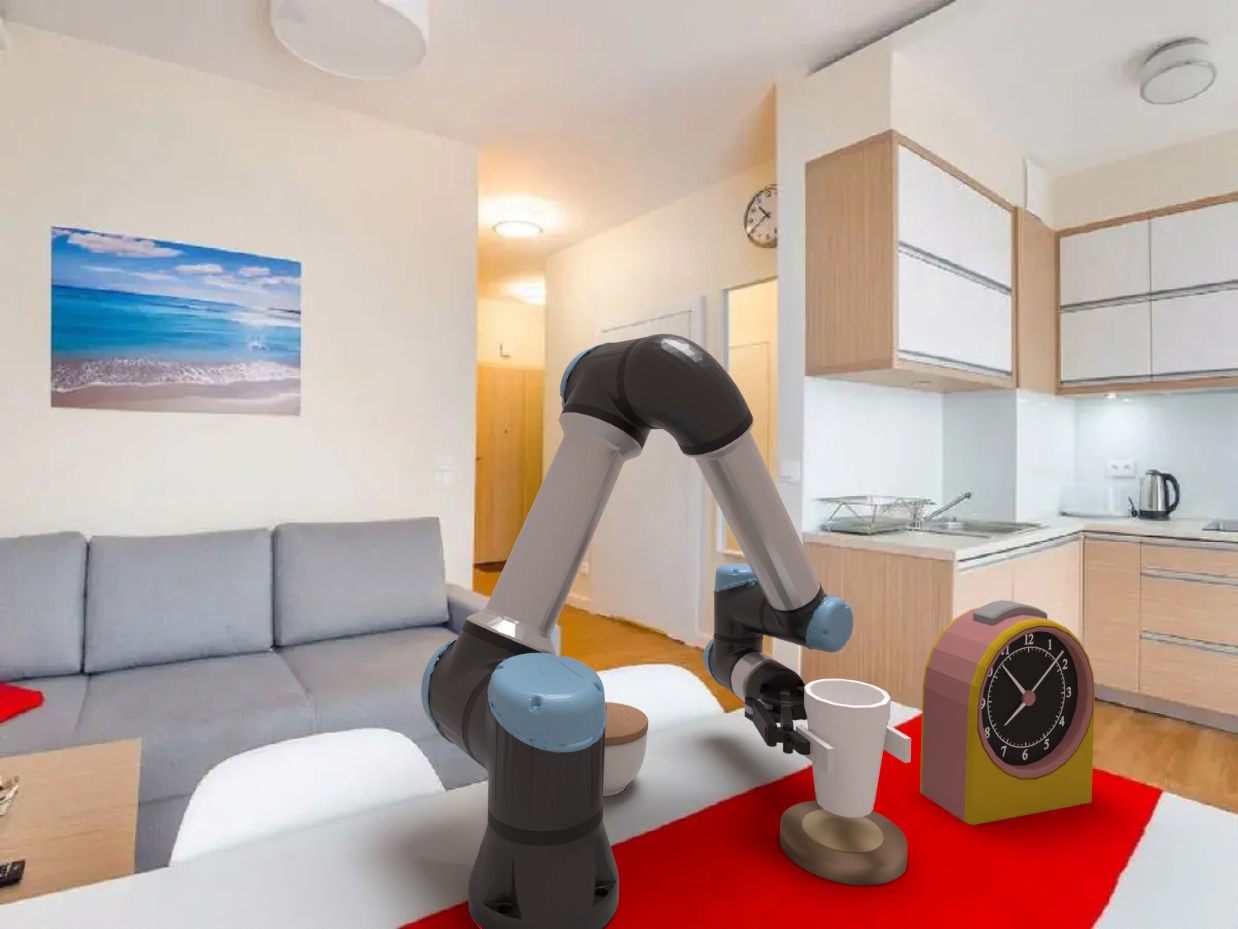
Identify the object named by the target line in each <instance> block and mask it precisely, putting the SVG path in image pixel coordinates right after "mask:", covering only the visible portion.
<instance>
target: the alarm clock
mask: <svg viewBox="0 0 1238 929" xmlns="http://www.w3.org/2000/svg"><path fill="white" fill-rule="evenodd" d="M1094 675H1095V674H1094V672H1093V668H1092V664H1091V661H1090V658H1089V655H1088V653H1087V651H1086V649H1085V648H1084V646H1083V645H1082V643H1081V641H1080V639H1079V638H1078V637H1077V636H1076V635H1075V634H1074V633H1073V632H1072V631H1070V629H1069V628H1067V627H1066V626H1063V625H1062V624H1060V623H1058V622H1055V621H1053V620H1051V619H1050V618H1049V619H1048V613H1047V612H1045V611H1044V610H1042V609H1041V608H1038V607H1035V606H1031V605H1028V604H1024V603H1021V602H1017V601H1012V600H1001V599H999V600H997V601H996V600H995V601H991V602H989V603H986V604H984V605H982V606H980V607H975V608H971V609H968V610H967V611H965V612H964V613H962V614H960V615H958V616H957V617H955V618H954V619H953V620H952V621H951V622H950V623H949V624H948V625H947V626H946V627H945V628H944V629H942V631H941V633H940V634H939V636H938V637H937V639H936V641H935V642H934V644H933V646H932V647H931V650H930V652H929V655H928V659H927V661H926V664H925V669H924V675H923V676H924V677H923V683H922V708H921V711H922V712H921V740H920V742H921V744H920V745H921V746H920V748H921V749H920V750H921V751H920V783H919V785H920V786H919V789H920V790H919V792H920V794H921V795H923V796H924V797H926V798H927V799H929V800H930V801H932V802H933V803H935V804H937V805H938V806H939V807H940V808H943V809H944V810H946V811H947V812H949V813H950V814H952V815H953V816H955V817H956V818H958V819H959V820H961V821H963V823H966V824H969V825H975V826H976V825H980V824H985V823H990V822H995V821H1000V820H1006V819H1012V818H1017V817H1022V816H1026V815H1027V816H1028V815H1032V814H1039V813H1043V812H1049V811H1053V810H1054V811H1055V810H1059V809H1064V808H1065V809H1066V808H1070V807H1075V806H1079V805H1080V804H1081V805H1084V804H1085V803H1086V804H1091V803H1092V793H1093V792H1092V791H1093V790H1092V789H1093V788H1092V787H1093V762H1094V761H1093V760H1094V759H1093V758H1094V757H1093V756H1094V755H1093V754H1094V751H1093V750H1094V731H1095V727H1094V724H1095V701H1096V700H1095V696H1096V695H1095V677H1094ZM1048 810H1049V811H1048Z"/></svg>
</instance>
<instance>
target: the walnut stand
mask: <svg viewBox="0 0 1238 929" xmlns="http://www.w3.org/2000/svg"><path fill="white" fill-rule="evenodd" d="M779 823H780V824H779V826H780V827H779V842H780V843H779V844H780V846H781V848H782V851H783V852H784V853H785V854H786V856H787V857H788V858H789V859H790V860H791V862H793V863H795V864H796V865H797V866H799V868H802V869H803V870H805V871H807V872H809V873H811V874H812V875H815V876H817V877H820V878H822V879H825V880H829V881H830V882H831V881H832V882H835V883H840V884H845V885H852V886H878V885H882V884H887V883H889V882H890V883H891V882H892V881H895V880H896V879H898V878H900V877H901V876H902V875H903V874H904V872H905V871H906V868H907V863H908V840H907V837H906V836H905V834H904V832H903V831H902V830H901V828H899V826H897V825H896V824H895V823H894V822H893V821H891V820H890V819H889V818H887V817H885V816H883V815H882V814H880V813H878V812H875V811H873V810H872V812H871V813H870V814H868V815H866V816H863V817H845V816H840V815H835V814H833V813H831V812H829V811H826V810H824V809H823V808H822V807H821V806H820V805H819V804H818V803H817V800H811V801H805V802H804V801H803V802H800V803H797V804H794V805H791V807H788V808H787V809H786V810H785V811H783V813H782V815H781V818H780V822H779Z"/></svg>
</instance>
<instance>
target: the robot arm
mask: <svg viewBox="0 0 1238 929" xmlns="http://www.w3.org/2000/svg"><path fill="white" fill-rule="evenodd" d="M559 385H560V386H559V396H560V397H561V400H562V401H561V402H560V403H561V407H562V411H561V413H560V415H559V418H558V422H559V425H560V427H561V429H562V433H563V437H562V440H561V442H560V444H559V446H558V448H557V450H556V452H555V455H554V457H553V459H552V461H551V463H550V466H549V468H548V469H547V472H546V474H545V477H544V479H543V481H542V483H541V485H540V486H539V489H538V492H537V494H536V496H535V498H534V501H533V502H532V504H531V507H530V510H529V511H528V513H527V516H526V517H525V518H526V519H525V521H524V523H523V525H522V527H521V529H520V532H519V533H518V535H517V538H516V540H515V543H514V544H513V547H512V549H511V552H510V553H509V555H508V557H507V560H506V562H505V564H504V566H503V569H502V571H501V573H500V576H499V577H498V580H497V582H496V584H495V587H494V588H493V591H492V593H491V595H490V597H489V600H488V602H487V604H486V606H485V607H484V608H483V609H482V610H480V611H477V612H476V613H473V614H471V615H468V616H467V617H466V619H465V621H464V623H463V625H462V627H461V630H460V631H459V634H458V636H457V637H454V638H452V639H451V640H450V641H448V642H447V643H443V645H441V646H440V647H439V648H438V649H437V650H436V651H435V652H434V653H433V655H432V656H431V658H430V659H429V661H428V663H427V664H426V666H425V670H424V671H423V675H422V680H421V686H420V695H421V698H420V699H421V703H422V707H423V709H424V713H425V714H426V717H427V718H428V720H429V721H430V723H431V724H432V725H433V726H434V727H435V729H436V731H437V732H438V733H439V735H441V737H443V738H444V739H445V740H446V741H448V743H450V744H453V745H455V746H456V747H458V749H460V750H461V751H462V752H464V753H465V754H466V755H468V756H469V757H470V758H471V759H472V760H473V761H475V762H476V763H477V764H479V765H480V766H481V767H482V768H483V769H485V770H486V772H487V778H488V780H487V782H488V783H487V784H488V785H487V786H488V787H487V824H486V828H485V831H484V834H483V837H482V840H481V843H480V845H479V849H478V852H477V855H476V857H475V860H474V863H473V866H472V870H471V873H470V876H469V880H468V899H467V900H468V901H467V902H468V903H467V904H468V906H469V907H468V913H469V912H470V913H469V915H470V914H471V916H472V918H473V920H474V921H475V922H476V924H478V926H480V927H481V928H482V929H603V928H605V927H606V925H607V924H609V922H610V921H611V920H612V918H613V917H614V915H615V914H616V911H617V909H618V905H619V900H620V899H619V894H620V887H619V885H620V877H619V870H618V867H617V864H616V860H615V857H614V853H613V850H612V847H611V844H610V840H609V837H608V832H607V830H606V827H605V823H604V797H603V790H604V760H605V729H606V721H607V712H606V706H605V702H606V696H605V688H604V684H603V681H602V679H601V678H600V676H599V674H598V673H597V672H596V671H595V670H594V669H593V668H591V666H589V665H587V664H586V663H585V662H582V661H580V660H578V659H575V658H573V657H570V656H567V655H564V656H558V655H557V653H556V649H555V647H554V645H553V642H552V634H553V631H554V629H555V627H556V624H557V622H558V620H559V617H560V615H561V612H562V611H563V609H564V605H565V603H566V601H567V599H568V596H569V594H570V591H571V589H572V586H573V584H574V582H575V579H576V577H577V575H578V572H579V570H580V569H581V568H580V567H581V566H582V563H583V560H584V558H585V555H586V553H587V551H588V549H589V546H590V544H591V541H592V539H593V537H594V535H595V534H596V533H595V532H596V530H597V528H598V525H599V524H600V521H601V518H602V516H603V514H604V512H605V510H606V509H605V508H606V506H607V504H608V502H609V499H610V497H611V494H612V492H613V490H614V487H615V485H616V482H617V480H618V478H619V476H620V474H621V472H622V469H623V466H624V464H625V463H626V462H627V461H629V460H632V459H635V458H637V457H639V456H640V455H641V453H642V452H643V449H644V447H645V445H646V442H647V440H648V438H649V435H650V433H651V431H652V430H663V431H665V432H667V433H668V434H669V435H670V436H671V437H673V439H674V440H675V441H676V443H677V445H678V447H679V449H680V451H681V452H682V454H683V455H684V456H686V457H689V458H693V459H694V460H695V462H696V463H697V465H698V468H699V469H700V471H701V473H702V476H703V477H704V480H705V481H706V484H707V485H708V487H709V489H710V491H711V494H712V495H713V497H714V499H715V500H716V503H717V504H718V506H719V508H720V511H721V513H722V514H723V516H724V518H725V521H726V523H727V524H728V527H729V528H730V530H731V532H732V534H733V536H734V537H735V538H734V539H735V540H736V542H737V544H738V546H739V548H740V550H741V552H742V554H743V556H744V558H745V560H746V562H747V563H744V562H743V563H739V562H738V563H735V562H734V563H726V564H725V563H724V564H722V565H720V566H718V567H717V568H716V570H715V581H714V582H715V583H714V589H713V599H714V600H713V603H714V605H713V611H714V612H713V621H714V622H713V623H714V624H713V635H712V637H713V638H711V639H710V640H709V641H708V643H707V645H706V647H705V649H704V652H703V655H702V660H703V661H702V662H703V667H704V668H705V670H706V671H707V673H708V674H709V676H710V677H711V678H712V679H713V680H714V682H716V684H718V685H719V686H721V687H722V688H724V689H726V690H727V691H729V692H731V693H732V694H734V695H735V697H737V698H738V699H740V700H741V701H742V702H744V717H745V718H746V719H747V720H749V721H750V722H752V723H753V725H754V726H755V728H756V730H757V731H758V733H759V735H760V736H761V738H762V740H763V742H764V743H765V744H766V746H768V747H770V748H775V747H777V746H778V744H782V753H784V754H787V755H791V754H794V751H795V752H796V753H797V754H798V755H800V756H801V755H802V756H804V757H805V758H806V759H808V760H809V761H810V762H811V763H812V762H813V763H814V764H815V765H817V766H818V767H819V768H821V769H822V770H823V771H824V772H826V773H827V774H830V773H833V767H834V748H833V747H831V746H830V745H829V744H827V743H826V742H824V741H823V740H822V739H820V738H819V737H817V736H816V735H815V734H813V733H812V732H810V731H809V730H808V728H806V727H805V726H803V725H802V724H800V725H799V724H798V725H794V721H801V720H802V721H807V713H806V711H805V708H804V687H805V686H806V684H805V683H804V680H803V679H802V677H801V676H800V674H798V673H797V672H796V671H794V670H793V669H791V668H790V667H788V666H786V665H785V664H783V663H781V662H780V661H778V660H777V659H774V658H772V657H770V656H769V655H767V654H765V653H764V652H763V647H764V646H763V644H764V643H763V641H764V636H767V637H770V638H774V639H778V640H781V641H784V642H788V643H791V644H794V645H798V646H800V647H803V648H807V649H809V650H817V651H821V652H825V653H830V654H831V653H836V652H839V651H840V650H842V649H843V648H844V647H845V646H846V644H847V642H848V641H849V640H850V638H851V636H852V633H853V628H854V614H853V609H852V607H851V606H850V604H849V603H848V602H846V601H845V599H842V598H841V597H837V596H836V595H834V594H829V595H828V594H826V592H825V590H824V588H823V587H822V586H823V585H822V584H821V582H820V580H819V577H818V575H817V572H816V571H815V569H814V567H813V565H812V562H811V560H810V557H809V556H808V554H807V551H806V550H805V547H804V545H803V543H802V540H801V539H800V537H799V535H798V532H797V529H796V527H795V525H794V523H793V521H792V519H791V517H790V514H789V513H788V511H787V508H786V507H785V505H784V504H785V503H784V502H783V500H782V497H781V495H780V493H779V491H778V489H777V487H776V485H775V482H774V481H773V478H772V476H771V473H770V471H769V470H768V467H767V465H766V463H765V461H764V459H763V456H762V454H761V452H760V450H759V448H758V446H757V443H756V442H755V439H754V437H753V434H752V433H751V430H752V428H753V425H754V424H755V423H754V422H755V421H754V420H755V419H754V416H753V415H752V412H751V410H750V408H749V405H748V403H747V402H746V399H745V398H744V395H743V394H742V391H741V390H740V388H739V387H738V386H737V385H738V384H736V383H735V381H734V380H733V378H732V377H731V376H730V375H729V373H728V372H727V371H726V369H725V368H724V367H723V365H721V363H720V362H719V361H718V360H717V359H716V358H714V357H713V355H712V354H710V353H709V352H708V351H707V350H706V349H705V348H703V347H702V346H701V345H699V344H697V343H696V342H694V341H693V340H691V339H688V338H686V337H684V336H680V335H678V334H677V335H676V334H672V333H658V334H651V335H648V336H645V337H639V338H632V339H628V340H623V341H616V342H603V343H600V344H597V345H595V346H593V347H591V348H588V349H585V350H583V351H581V352H580V353H578V354H577V355H576V356H575V357H574V358H573V359H571V361H570V362H569V363H568V365H567V366H566V368H565V370H564V371H563V374H562V377H561V380H560V384H559ZM778 724H779V725H780V726H778ZM794 726H795V729H794ZM911 745H912V738H911V737H909V736H908V735H906V734H905V733H902V732H901V731H899V729H897V728H894V727H893V726H891V725H890V724H889V722H888V723H887V729H886V735H885V741H884V748H883V751H886V753H889V754H890V755H892V756H893V757H895V758H897V759H898V760H899V761H902V762H903V763H904V764H906V763H911V758H912V757H911V756H912V754H911V753H912V752H911V751H912V750H911V749H912V746H911ZM471 916H470V917H471Z"/></svg>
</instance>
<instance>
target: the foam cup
mask: <svg viewBox="0 0 1238 929" xmlns="http://www.w3.org/2000/svg"><path fill="white" fill-rule="evenodd" d="M804 708H805V711H806V713H807V720H806V721H807V729H808V730H809V731H810V732H812V733H813V734H815V735H816V736H817V737H819V738H820V739H822V740H823V741H824V742H826V743H827V744H829V745H830V746H831V747H833V748H834V767H833V773H830V774H827V773H826V772H824V771H823V770H822V769H821V768H819V767H818V766H817V765H815V764H814V763H813V762H812V761H811V764H812V766H811V767H812V774H813V782H814V790H815V800H816V801H817V803H818V804H819V805H820V806H821V807H822V808H823V809H824V810H826V811H829V812H831V813H833V814H835V815H840V816H845V817H863V816H866V815H868V814H870V813H871V812H872V811H873V810H874V804H875V801H876V797H877V796H876V795H877V790H878V789H877V788H878V783H879V777H880V772H881V771H880V770H881V765H882V760H883V759H882V758H883V752H884V749H883V748H884V741H885V735H886V729H887V723H888V724H889V721H890V719H891V696H890V695H889V693H888V692H887V691H886V690H884V689H882V688H880V687H878V686H876V685H874V684H870V683H867V682H862V681H859V680H853V679H843V678H821V679H817V680H812V681H810V682H808V683H807V684H805V687H804Z"/></svg>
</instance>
